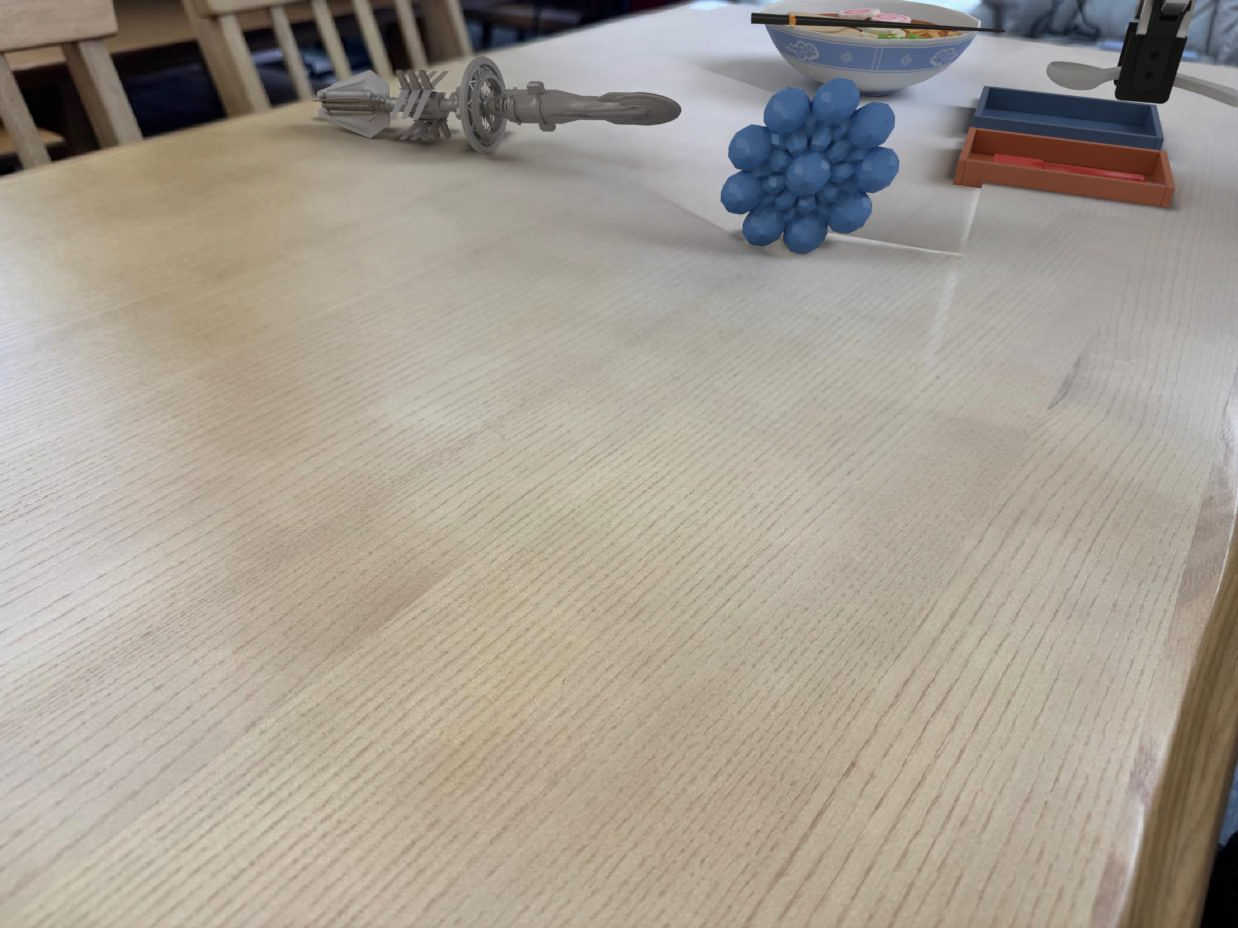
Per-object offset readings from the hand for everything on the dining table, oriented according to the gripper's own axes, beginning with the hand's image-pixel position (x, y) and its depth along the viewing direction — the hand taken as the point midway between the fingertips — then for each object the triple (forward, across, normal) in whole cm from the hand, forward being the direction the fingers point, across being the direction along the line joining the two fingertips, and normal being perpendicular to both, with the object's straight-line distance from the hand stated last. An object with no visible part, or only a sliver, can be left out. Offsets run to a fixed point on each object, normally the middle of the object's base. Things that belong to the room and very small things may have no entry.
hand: (1139, 91), depth 65 cm
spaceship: (+10, +2, +50) cm, 51 cm away
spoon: (0, 0, 0) cm, 0 cm away
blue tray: (+11, +30, +3) cm, 32 cm away
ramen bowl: (+11, +39, +24) cm, 47 cm away
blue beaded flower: (+11, -8, +20) cm, 24 cm away
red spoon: (+11, +15, +3) cm, 18 cm away
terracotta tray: (+11, +15, +3) cm, 19 cm away
